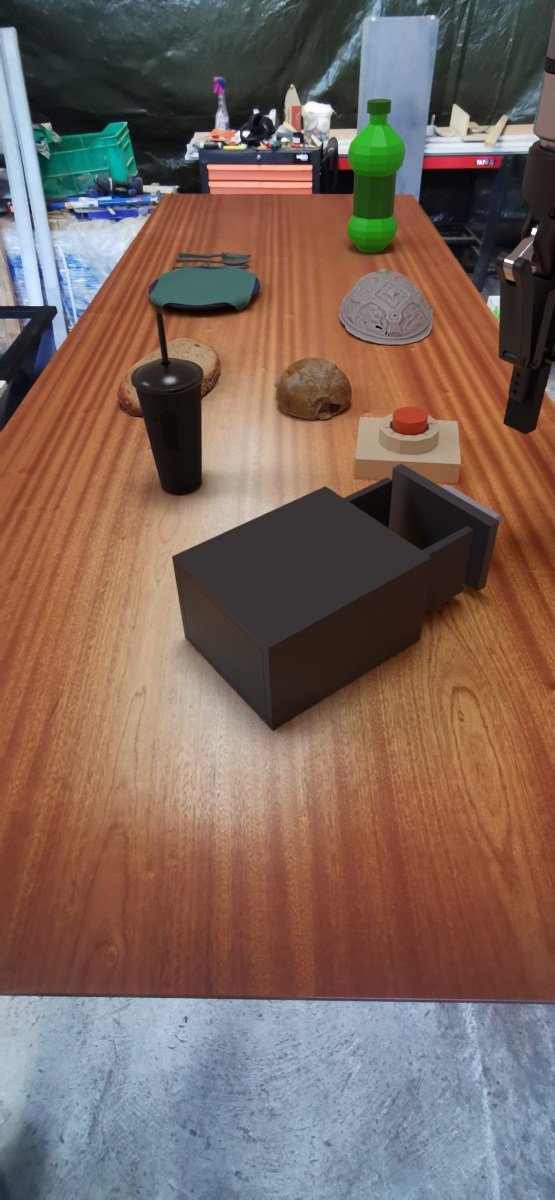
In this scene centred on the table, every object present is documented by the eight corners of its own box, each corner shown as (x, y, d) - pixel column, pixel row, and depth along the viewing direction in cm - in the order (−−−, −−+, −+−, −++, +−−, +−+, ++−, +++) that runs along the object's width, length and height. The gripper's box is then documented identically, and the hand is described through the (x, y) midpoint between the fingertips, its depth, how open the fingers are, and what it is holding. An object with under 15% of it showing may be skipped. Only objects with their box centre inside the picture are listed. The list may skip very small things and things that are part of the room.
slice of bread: (202, 346, 116) (199, 322, 113) (253, 391, 104) (252, 365, 101) (91, 372, 110) (86, 348, 107) (133, 423, 98) (128, 397, 95)
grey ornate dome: (341, 341, 114) (347, 296, 109) (335, 292, 133) (340, 252, 129) (441, 350, 114) (450, 306, 110) (420, 299, 133) (428, 260, 129)
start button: (426, 420, 88) (427, 407, 87) (426, 437, 85) (428, 423, 84) (392, 419, 88) (393, 405, 87) (391, 435, 85) (392, 422, 84)
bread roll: (297, 448, 99) (313, 408, 92) (255, 393, 101) (268, 350, 95) (353, 425, 103) (372, 385, 96) (312, 372, 106) (328, 330, 99)
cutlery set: (138, 318, 125) (136, 304, 123) (170, 260, 147) (169, 247, 146) (255, 318, 123) (254, 304, 122) (269, 259, 146) (269, 246, 144)
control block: (454, 440, 92) (459, 407, 89) (458, 484, 85) (463, 450, 82) (358, 435, 94) (360, 403, 91) (353, 478, 86) (355, 445, 83)
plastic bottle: (344, 241, 153) (349, 96, 136) (395, 240, 152) (406, 95, 136) (345, 257, 145) (350, 106, 129) (399, 256, 145) (411, 104, 128)
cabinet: (324, 565, 75) (325, 485, 68) (420, 640, 67) (432, 557, 60) (184, 637, 68) (171, 556, 61) (272, 731, 59) (268, 648, 53)
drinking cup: (227, 482, 87) (213, 312, 73) (176, 510, 83) (151, 335, 69) (186, 459, 91) (165, 293, 77) (136, 484, 87) (105, 314, 73)
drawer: (424, 511, 80) (432, 448, 74) (516, 568, 72) (532, 502, 67) (277, 587, 71) (275, 521, 66) (364, 661, 64) (368, 593, 58)
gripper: (592, 123, 60) (531, 392, 76) (484, 146, 54) (442, 432, 70) (678, 136, 55) (594, 420, 71) (570, 163, 50) (504, 465, 66)
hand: (519, 426), depth 71 cm, fingers closed
